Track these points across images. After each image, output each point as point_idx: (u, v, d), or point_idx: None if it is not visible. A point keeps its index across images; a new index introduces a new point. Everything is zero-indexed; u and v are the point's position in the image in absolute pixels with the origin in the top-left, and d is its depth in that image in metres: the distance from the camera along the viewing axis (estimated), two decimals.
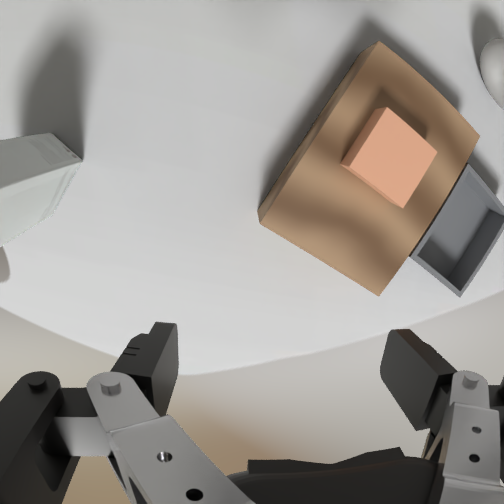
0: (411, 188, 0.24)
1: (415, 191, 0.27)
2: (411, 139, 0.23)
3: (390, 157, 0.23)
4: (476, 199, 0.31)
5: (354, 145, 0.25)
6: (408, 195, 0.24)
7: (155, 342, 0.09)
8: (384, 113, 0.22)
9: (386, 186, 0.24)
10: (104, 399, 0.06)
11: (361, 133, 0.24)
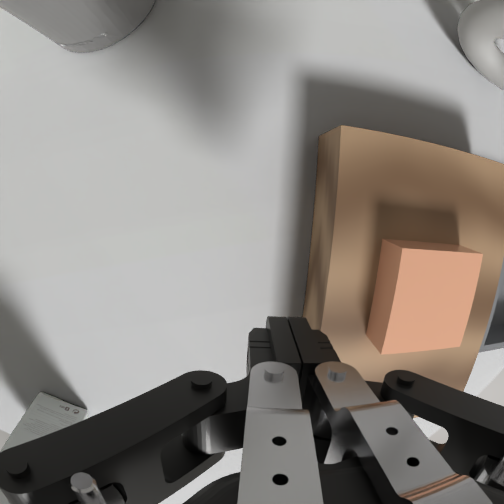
0: (464, 320, 0.16)
1: None
2: (448, 266, 0.15)
3: (428, 308, 0.16)
4: None
5: (375, 309, 0.18)
6: (462, 330, 0.16)
7: (282, 334, 0.10)
8: (402, 260, 0.15)
9: (434, 341, 0.16)
10: (279, 386, 0.07)
11: (378, 287, 0.17)
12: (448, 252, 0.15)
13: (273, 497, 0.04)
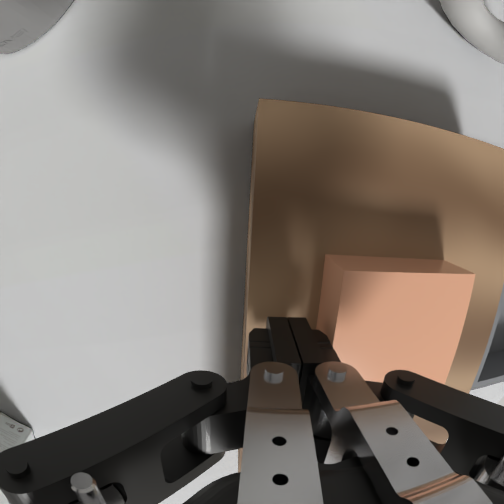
0: (445, 366, 0.11)
1: None
2: (420, 294, 0.11)
3: (390, 353, 0.11)
4: None
5: None
6: (443, 377, 0.12)
7: (282, 334, 0.10)
8: (344, 288, 0.10)
9: None
10: (279, 386, 0.07)
11: (320, 321, 0.13)
12: (421, 274, 0.11)
13: (272, 497, 0.04)
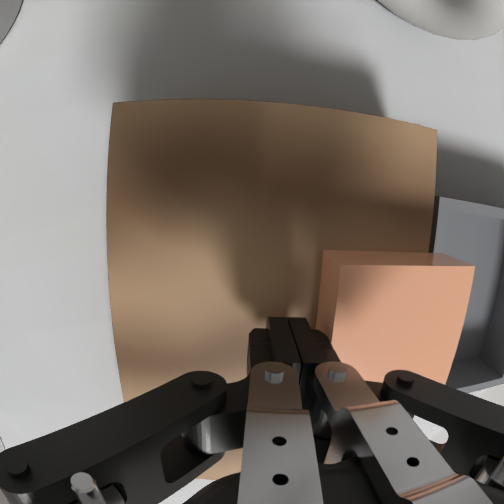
0: (447, 360, 0.11)
1: None
2: (419, 287, 0.11)
3: (390, 348, 0.11)
4: (481, 221, 0.17)
5: None
6: (445, 372, 0.11)
7: (282, 334, 0.10)
8: (341, 282, 0.10)
9: None
10: (279, 386, 0.07)
11: (319, 317, 0.13)
12: (419, 267, 0.10)
13: (272, 497, 0.04)
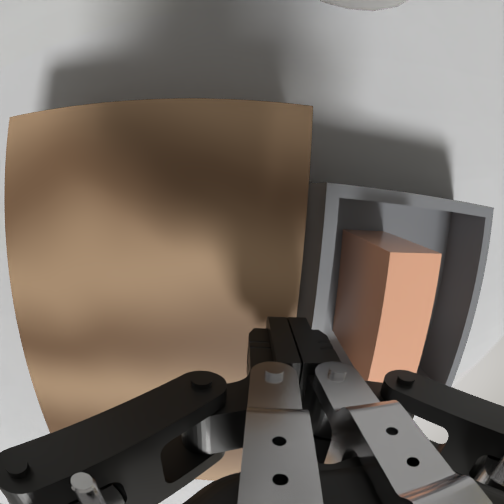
0: None
1: (214, 335, 0.13)
2: None
3: None
4: (412, 213, 0.17)
5: (386, 348, 0.12)
6: None
7: (282, 334, 0.10)
8: (438, 267, 0.12)
9: None
10: (279, 386, 0.07)
11: (389, 319, 0.12)
12: (406, 241, 0.14)
13: (272, 497, 0.04)
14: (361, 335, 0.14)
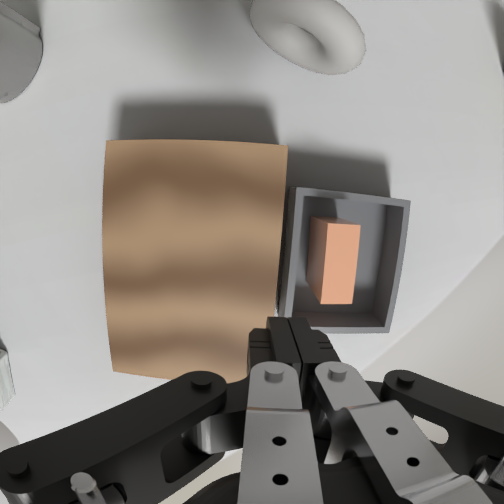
0: None
1: (232, 271, 0.24)
2: None
3: None
4: (357, 205, 0.28)
5: (330, 278, 0.23)
6: None
7: (282, 334, 0.10)
8: (359, 233, 0.23)
9: None
10: (279, 386, 0.07)
11: (330, 261, 0.23)
12: (347, 221, 0.25)
13: (272, 497, 0.04)
14: (318, 274, 0.25)
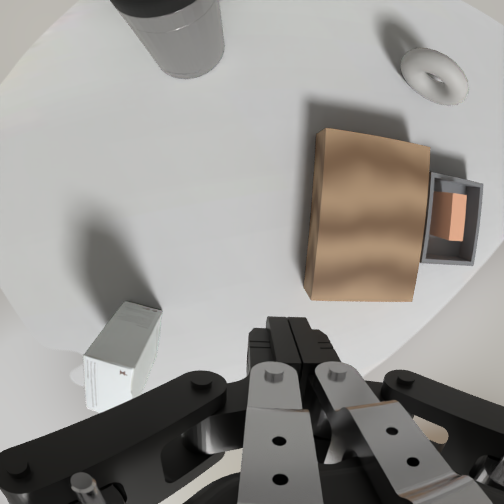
0: None
1: (402, 220, 0.36)
2: None
3: None
4: (452, 186, 0.40)
5: (453, 225, 0.35)
6: None
7: (282, 334, 0.10)
8: (466, 199, 0.34)
9: None
10: (279, 386, 0.07)
11: (453, 214, 0.34)
12: None
13: (272, 497, 0.04)
14: (443, 224, 0.36)
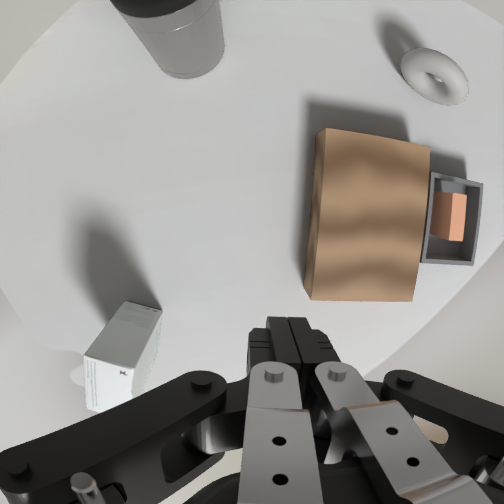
0: None
1: (402, 220, 0.36)
2: None
3: None
4: (452, 186, 0.40)
5: (453, 225, 0.35)
6: None
7: (282, 334, 0.10)
8: (465, 199, 0.34)
9: None
10: (279, 386, 0.07)
11: (453, 214, 0.34)
12: None
13: (272, 497, 0.04)
14: (443, 224, 0.36)
